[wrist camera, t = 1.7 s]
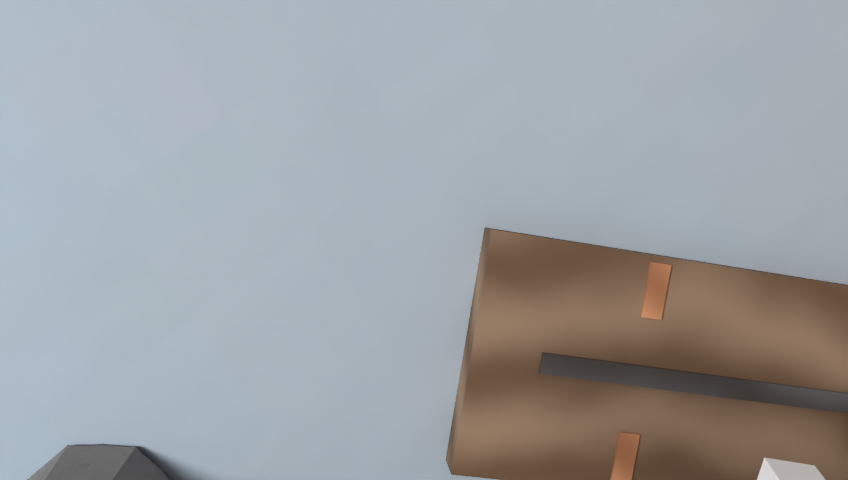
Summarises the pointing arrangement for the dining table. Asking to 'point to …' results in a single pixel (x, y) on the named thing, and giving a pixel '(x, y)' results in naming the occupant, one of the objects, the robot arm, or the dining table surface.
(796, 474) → the robot arm
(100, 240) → the dining table surface
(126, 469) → the coffeepot
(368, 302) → the dining table surface
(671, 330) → the brown flat wooden board
